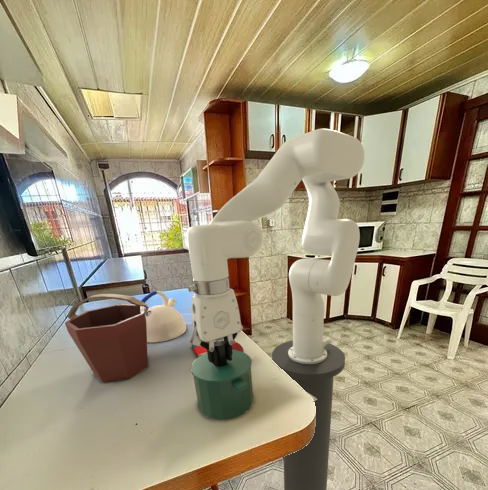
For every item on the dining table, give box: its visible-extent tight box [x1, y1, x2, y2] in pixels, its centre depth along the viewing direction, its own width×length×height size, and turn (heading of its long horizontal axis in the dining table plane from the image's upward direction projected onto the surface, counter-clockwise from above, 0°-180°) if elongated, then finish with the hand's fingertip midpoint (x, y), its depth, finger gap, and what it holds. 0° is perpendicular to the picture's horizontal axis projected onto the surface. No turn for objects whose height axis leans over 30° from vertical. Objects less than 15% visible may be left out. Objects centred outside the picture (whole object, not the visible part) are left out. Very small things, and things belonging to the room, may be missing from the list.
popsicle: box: [190, 343, 207, 358], centre depth 92 cm, size 5×2×15 cm
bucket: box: [64, 293, 150, 383], centre depth 83 cm, size 24×22×25 cm
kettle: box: [140, 290, 187, 344], centre depth 111 cm, size 20×21×18 cm
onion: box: [232, 339, 245, 353], centre depth 84 cm, size 6×6×8 cm
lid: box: [190, 339, 253, 383], centre depth 63 cm, size 15×15×7 cm
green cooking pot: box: [193, 353, 254, 421], centre depth 66 cm, size 14×19×10 cm
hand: (221, 360), depth 64 cm, fingers closed on lid, 3 cm apart
